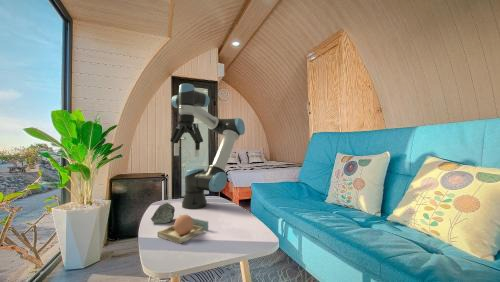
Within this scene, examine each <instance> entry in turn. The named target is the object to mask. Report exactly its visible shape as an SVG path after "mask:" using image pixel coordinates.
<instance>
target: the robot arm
mask: <svg viewBox="0 0 500 282" xmlns="http://www.w3.org/2000/svg"><path fill="white" fill-rule="evenodd" d="M210 102H211V100H210V96H209V95H208V94H206V93H204V92H200V91H197V90H196V88H195V85H193V84H191V83H181V84H180V85H179V88H178V94H176V95H173V96H172V97H171V105H172V106H173V107H174V108H175V109H178V114H179V115H178V122H179V123H178V124H177V123H176V124H174V129H173V132H172V136H171V138H170V142H171V143H173V145H172V146H173V156H174V157H175V156H176V157H177V156H180V143H179V141H180V140H181V138H182V136H183V135H184V134H187V133H188V134H189V135H190V137H191V138H192V140H193V142H194V143H193V157H194V158H195V157H197V158H198V157H199V156H200V155H199V154H200V153H199V151H200V148H201V147H200V146H201V143H203V142H204V139H203V137H202V134H201V131H200V129H199V123H194V122H195V119H196V120H197V121H200V122H201V123H203V125H206V126H207V128H208V129H209V130H210V131H212V132H214V133H216V134H218V135H222V139H221V141H220V144H219V147H218V148H217V150H216V154H215V155H214V159H213V161H212V162H211V164H210V165H209V166H207V169H206V170H205V168H204V167H201V168H199V167H198V168H192V169H187V170H186V171H185V173H184V174H185V175H184V195H183V199H182V202H181V208H184V209H188V210H189V209H190V210H192V209H193V210H195V209H200V208H201V209H202V208H205V207H206V206H207V205H208V202H207V198H206V195H205V191H207V192H212V193H213V192H216V193H218V192H221V191H222V190H224V189H225V187H226V185H227V182H228V176H227V172H226V170H225V169H226V167H227V165H228V161H229V160H230V159H229V158H230V156H231V154H232V151H233V148H234V145H235V142H236V141H237V140H238V141H239V139H240V136H244V134H245V132H246V126H245V122H244V120H243V119H242V118H237V117H235V118H219V117H217V116H214V115H212V114H210V112H208V111H207V110H206V109H204V108H206V107H208V106H209V104H210Z"/></svg>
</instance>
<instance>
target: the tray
mask: <svg viewBox="0 0 500 282" xmlns="http://www.w3.org/2000/svg"><path fill="white" fill-rule="evenodd" d="M203 228H204V227H200V226H196V225H193V228H192V230H191V231H190V232H189V233H188V234H185V235H181V234H178V233H177V232H176V231H175V228H174V224H173V225H171V226H168V227H166V228H164V229H162V230H159V231H157V237H158V238H160V237H161V239H163V238H165V239H164V240H166V239H168V240H167V241H170V240H171V242H173V241H174V243H176V242H177V243H176V244H179V243H180V245H182V244H184V243H185V242H188V241H189V240H191V239H193V238H195V237H197V236H199V235H200V234H203V233H204V230H203ZM183 242H184V243H183ZM181 243H182V244H181Z"/></svg>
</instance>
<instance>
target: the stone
mask: <svg viewBox="0 0 500 282" xmlns="http://www.w3.org/2000/svg"><path fill="white" fill-rule="evenodd" d="M175 209H176V208H175V207H174V206H173V205H172V204H171V203H170V202H165V203H162V204H160V205H159V206H158V207H157V208H156V210H155V211H154V213H153V215H152V216H151V218H150V220H151V222H152V223H153V224H167V223H171V222H172V221H173V219H174V216H175V211H176V210H175Z"/></svg>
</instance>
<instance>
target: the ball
mask: <svg viewBox="0 0 500 282" xmlns="http://www.w3.org/2000/svg"><path fill="white" fill-rule="evenodd" d="M192 218H193V217H191V216H190V215H188V214H181V216H180V215H179V216H178V217H177V218H176V219H175V221H174V224H173V225H174V228H175V231H176V232H177V233H178V234H181V235H185V234H188V233H189V232H190V231H191V230H192V228H193V225H194V222H193V219H192Z"/></svg>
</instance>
